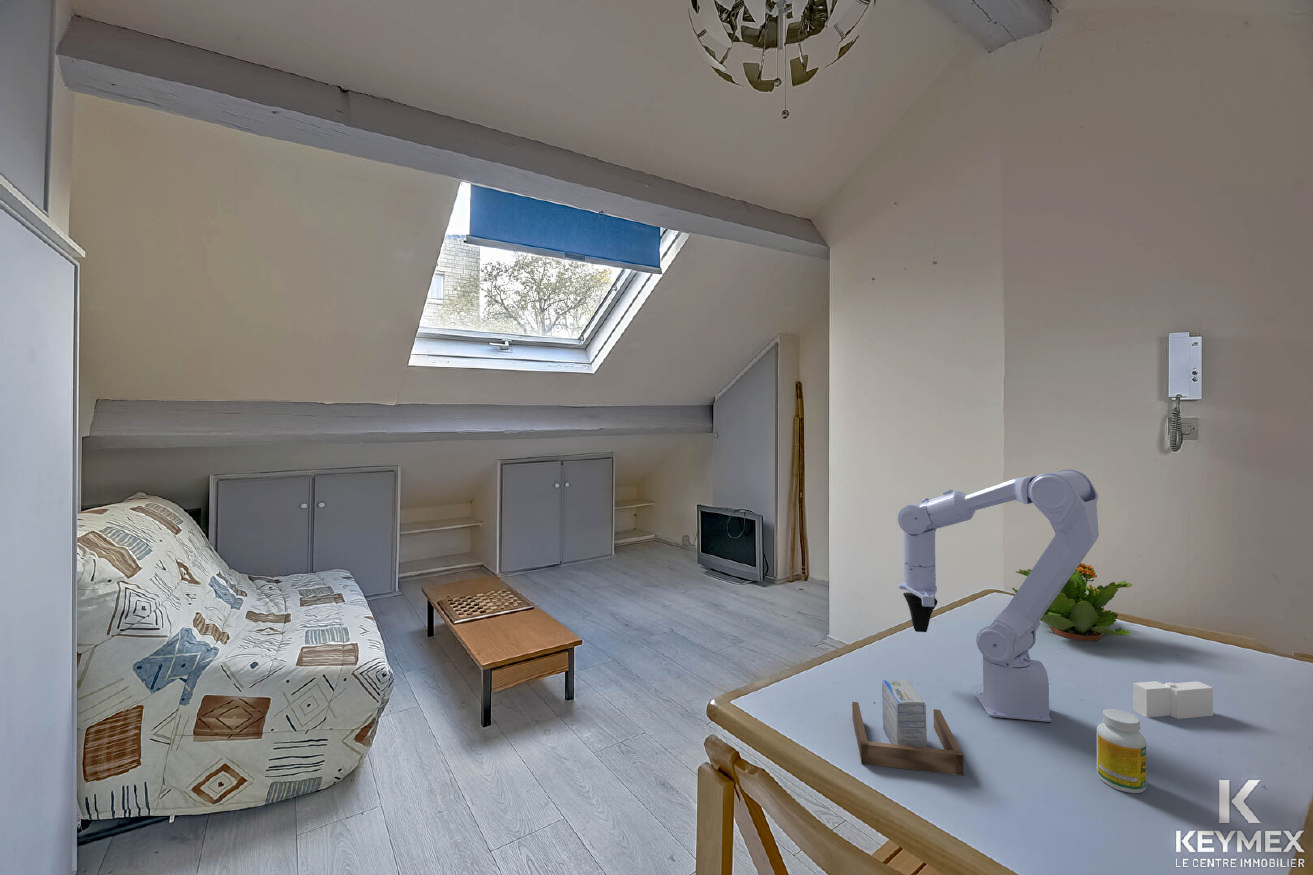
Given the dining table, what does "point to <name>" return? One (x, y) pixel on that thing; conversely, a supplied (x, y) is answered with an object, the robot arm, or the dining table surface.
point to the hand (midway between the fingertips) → (920, 630)
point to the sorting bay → (911, 749)
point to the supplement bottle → (1121, 751)
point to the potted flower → (1082, 607)
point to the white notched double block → (1173, 699)
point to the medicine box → (903, 714)
